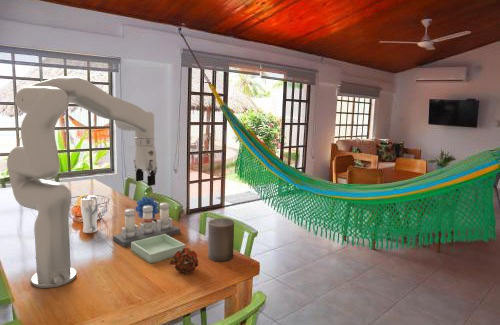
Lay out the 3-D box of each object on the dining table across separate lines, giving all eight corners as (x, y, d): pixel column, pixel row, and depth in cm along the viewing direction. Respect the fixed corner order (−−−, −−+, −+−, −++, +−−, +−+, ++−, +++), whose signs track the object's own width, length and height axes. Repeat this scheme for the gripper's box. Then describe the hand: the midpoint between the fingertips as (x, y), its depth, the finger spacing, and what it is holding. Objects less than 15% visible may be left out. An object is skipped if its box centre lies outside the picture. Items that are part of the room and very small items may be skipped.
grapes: (139, 225, 168) (139, 200, 166) (133, 221, 173) (133, 196, 171) (162, 220, 176) (162, 196, 174) (156, 217, 181) (156, 193, 179)
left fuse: (136, 236, 149) (136, 210, 147) (127, 238, 146) (127, 212, 145) (132, 233, 152) (132, 208, 150) (123, 235, 149) (122, 209, 147)
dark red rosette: (191, 283, 120) (176, 274, 130) (209, 263, 124) (193, 256, 134) (176, 266, 117) (161, 258, 127) (194, 246, 121) (179, 240, 130)
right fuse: (170, 228, 160) (170, 204, 158) (162, 230, 157) (162, 205, 156) (165, 225, 163) (166, 202, 161) (157, 227, 160) (157, 203, 158)
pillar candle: (238, 255, 140) (239, 217, 137) (223, 264, 131) (224, 224, 129) (217, 249, 145) (218, 213, 142) (202, 257, 136) (202, 219, 134)
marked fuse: (154, 232, 155) (154, 207, 153) (145, 234, 152) (145, 208, 150) (149, 229, 157) (149, 205, 156) (141, 231, 155) (141, 206, 153)
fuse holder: (180, 233, 161) (180, 220, 160) (124, 247, 142) (123, 232, 141) (168, 226, 168) (168, 214, 167) (113, 240, 149) (112, 226, 148)
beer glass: (92, 234, 155) (91, 200, 152) (78, 232, 156) (76, 198, 153) (102, 229, 161) (101, 196, 159) (88, 227, 163) (87, 194, 160)
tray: (185, 253, 140) (185, 244, 139) (150, 263, 129) (150, 254, 129) (164, 241, 150) (164, 233, 149) (131, 250, 140) (130, 242, 139)
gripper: (164, 144, 145) (164, 185, 148) (142, 139, 157) (143, 178, 160) (147, 145, 140) (147, 188, 143) (126, 140, 152) (127, 180, 155)
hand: (145, 183), depth 151 cm, fingers open, 9 cm apart
